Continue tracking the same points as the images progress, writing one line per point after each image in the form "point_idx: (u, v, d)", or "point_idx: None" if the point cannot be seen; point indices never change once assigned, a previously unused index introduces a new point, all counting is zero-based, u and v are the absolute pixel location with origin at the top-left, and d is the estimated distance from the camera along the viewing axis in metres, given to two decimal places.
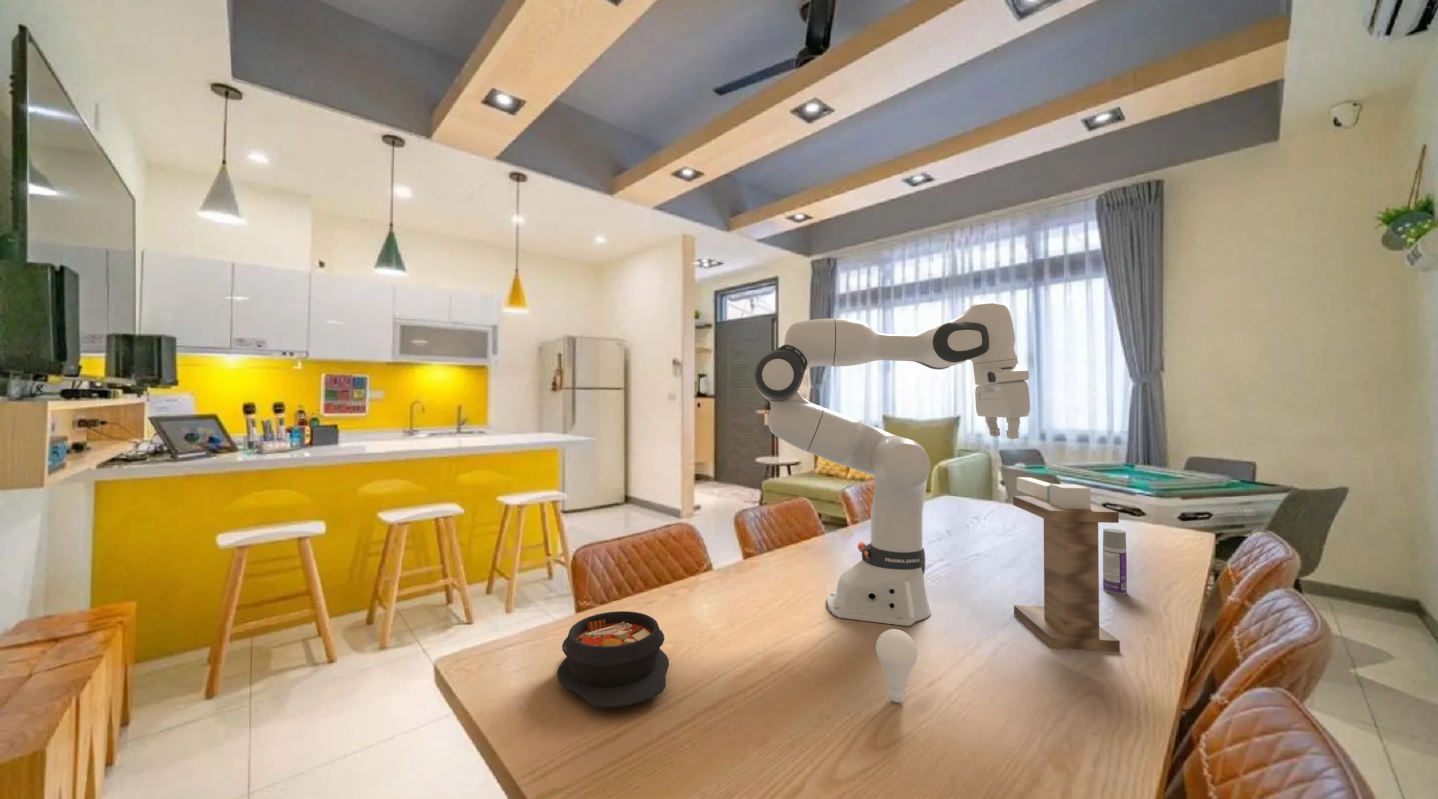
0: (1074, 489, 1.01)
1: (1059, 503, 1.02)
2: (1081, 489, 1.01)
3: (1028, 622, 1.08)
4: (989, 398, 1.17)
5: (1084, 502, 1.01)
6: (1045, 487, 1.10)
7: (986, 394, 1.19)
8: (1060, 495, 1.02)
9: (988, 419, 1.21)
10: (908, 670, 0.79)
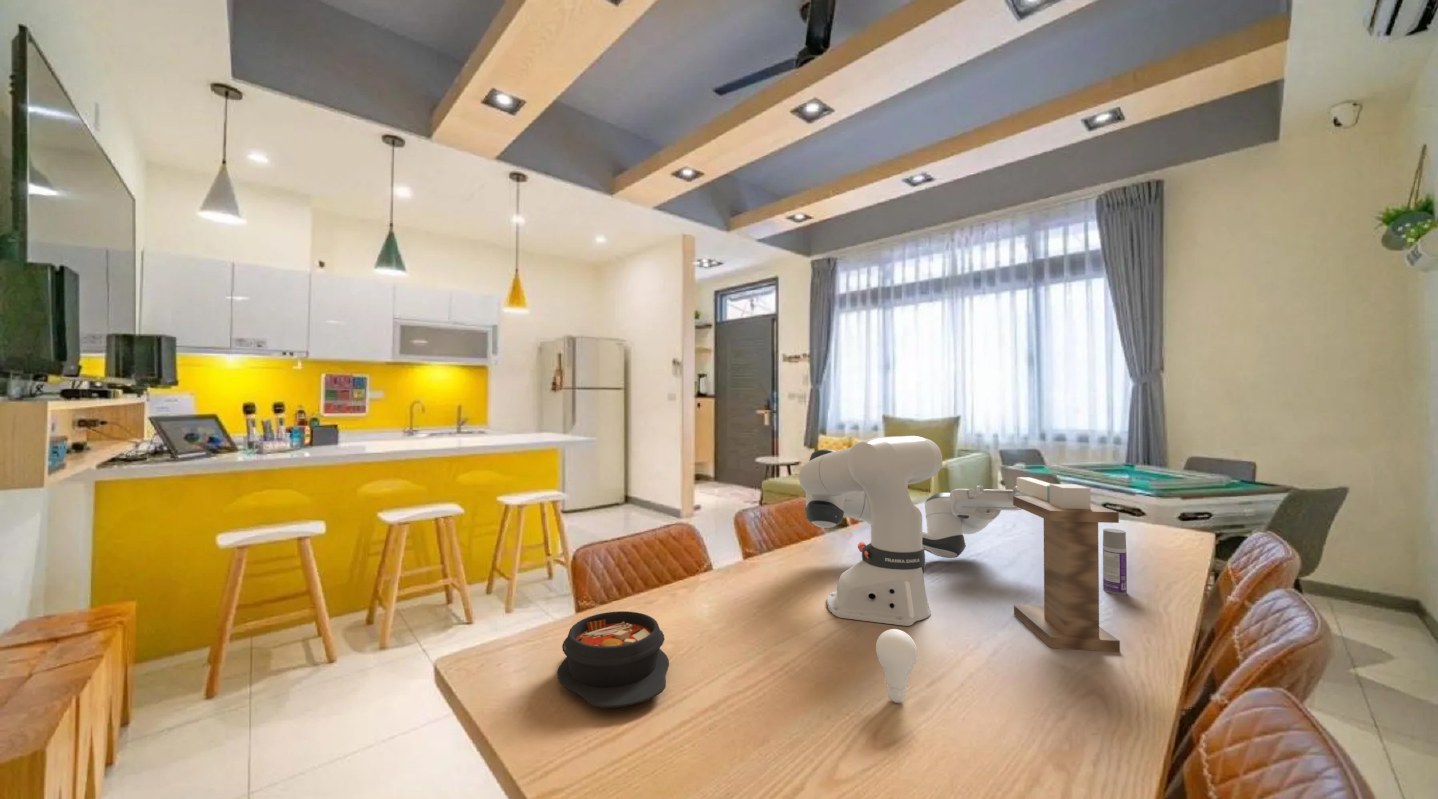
0: (1074, 489, 1.01)
1: (1059, 503, 1.02)
2: (1081, 489, 1.01)
3: (1028, 622, 1.08)
4: (994, 505, 1.43)
5: (1084, 502, 1.01)
6: (1045, 487, 1.10)
7: (999, 507, 1.44)
8: (1060, 495, 1.02)
9: None
10: (908, 670, 0.79)
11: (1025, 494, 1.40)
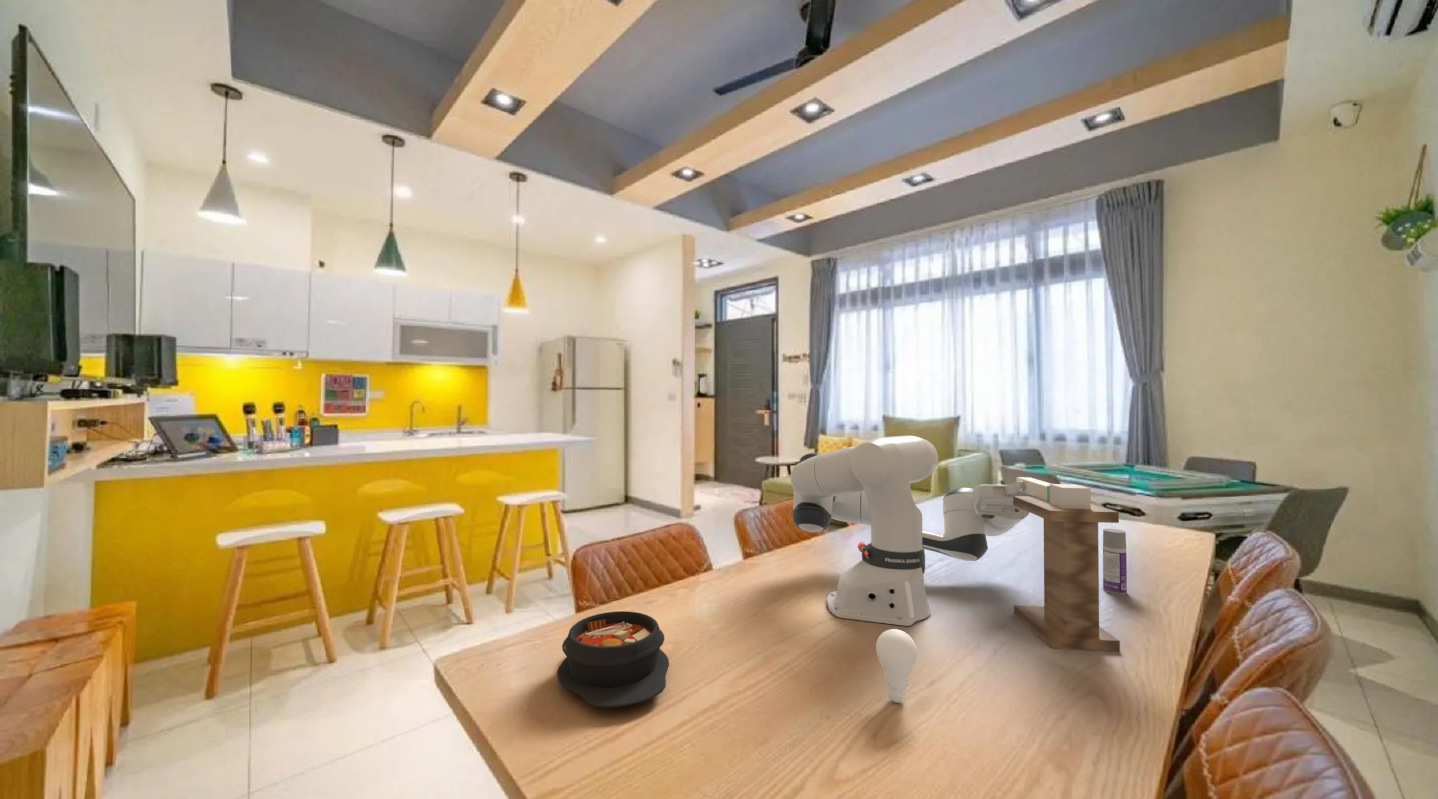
0: (1074, 489, 1.01)
1: (1059, 503, 1.02)
2: (1081, 489, 1.01)
3: (1028, 622, 1.08)
4: None
5: (1084, 502, 1.01)
6: (1045, 487, 1.10)
7: None
8: (1060, 495, 1.02)
9: None
10: (908, 670, 0.79)
11: None
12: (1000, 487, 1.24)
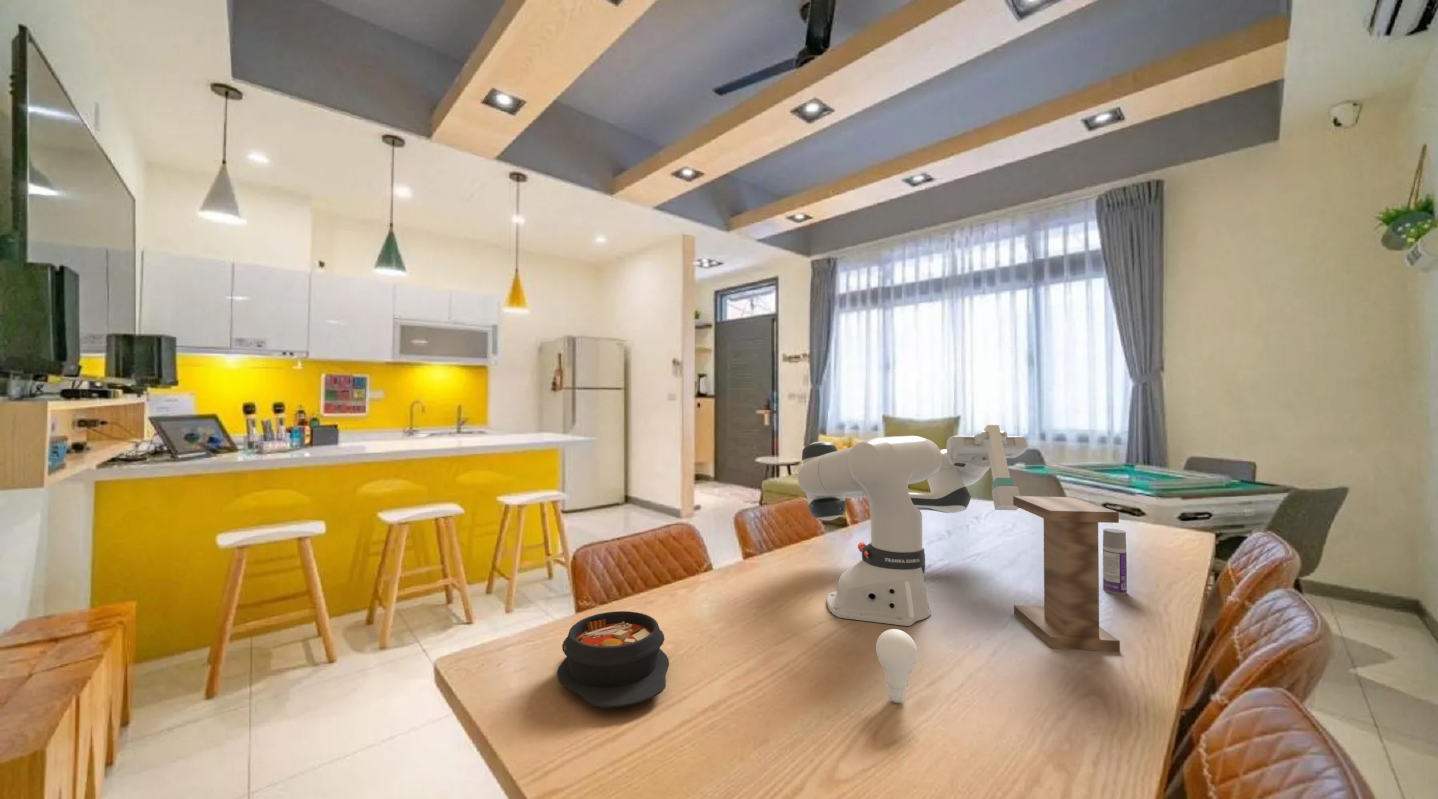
0: (1009, 506, 1.30)
1: (995, 504, 1.33)
2: (1014, 506, 1.30)
3: (1028, 622, 1.08)
4: None
5: (1013, 508, 1.32)
6: (996, 473, 1.35)
7: None
8: (997, 504, 1.32)
9: None
10: (908, 670, 0.79)
11: (1020, 440, 1.43)
12: (969, 438, 1.45)
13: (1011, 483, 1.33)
